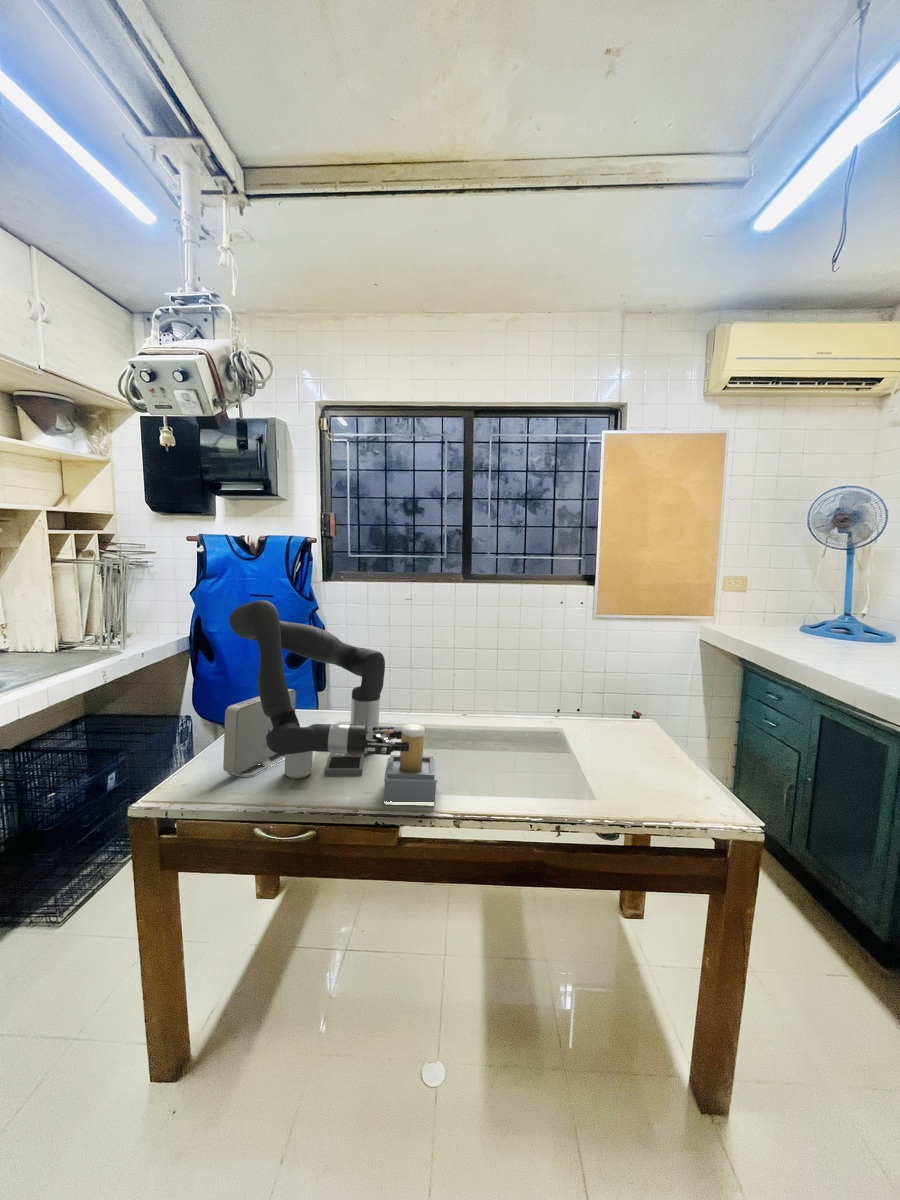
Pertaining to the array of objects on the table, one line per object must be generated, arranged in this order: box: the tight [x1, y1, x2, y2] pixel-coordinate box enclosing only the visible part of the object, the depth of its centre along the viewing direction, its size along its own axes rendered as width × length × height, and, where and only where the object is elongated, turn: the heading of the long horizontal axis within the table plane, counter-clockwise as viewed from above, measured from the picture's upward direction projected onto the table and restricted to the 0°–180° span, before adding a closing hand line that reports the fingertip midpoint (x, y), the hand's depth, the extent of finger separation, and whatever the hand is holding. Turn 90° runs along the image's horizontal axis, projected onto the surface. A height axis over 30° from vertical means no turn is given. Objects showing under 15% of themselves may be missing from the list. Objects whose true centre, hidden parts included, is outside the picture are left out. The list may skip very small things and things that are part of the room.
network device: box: [223, 688, 297, 778], centre depth 137 cm, size 26×9×20 cm, turn 162°
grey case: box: [383, 754, 438, 802], centre depth 124 cm, size 13×13×8 cm
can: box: [283, 751, 314, 779], centre depth 132 cm, size 8×8×12 cm
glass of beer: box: [399, 723, 426, 773], centre depth 124 cm, size 6×6×11 cm
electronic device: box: [324, 752, 365, 776], centre depth 141 cm, size 10×2×15 cm
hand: (409, 740), depth 124 cm, fingers open, 8 cm apart
